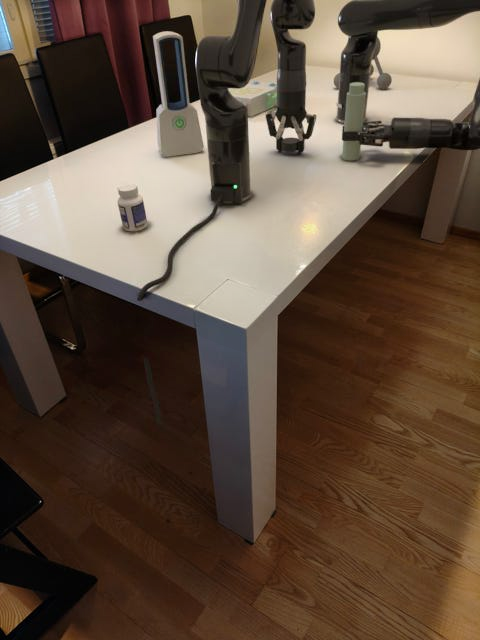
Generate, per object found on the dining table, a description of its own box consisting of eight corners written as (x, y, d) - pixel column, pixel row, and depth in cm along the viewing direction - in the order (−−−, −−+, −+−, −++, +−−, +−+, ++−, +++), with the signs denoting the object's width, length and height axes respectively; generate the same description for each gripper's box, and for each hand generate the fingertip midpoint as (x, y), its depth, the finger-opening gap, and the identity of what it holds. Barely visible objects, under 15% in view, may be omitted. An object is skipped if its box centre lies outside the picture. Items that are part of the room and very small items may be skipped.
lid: (290, 144, 139) (290, 136, 137) (303, 148, 135) (303, 140, 134) (277, 149, 136) (277, 140, 135) (290, 153, 133) (290, 144, 132)
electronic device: (161, 157, 138) (144, 37, 120) (158, 149, 144) (140, 33, 126) (204, 151, 141) (193, 32, 122) (199, 144, 146) (188, 28, 128)
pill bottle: (149, 220, 107) (142, 181, 102) (146, 231, 103) (138, 191, 98) (125, 221, 107) (116, 182, 102) (121, 232, 103) (112, 193, 98)
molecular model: (320, 82, 200) (324, -5, 182) (368, 76, 205) (377, -10, 186) (347, 95, 182) (354, 0, 164) (399, 88, 187) (412, -5, 168)
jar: (353, 161, 129) (360, 87, 118) (338, 158, 132) (343, 84, 121) (362, 156, 132) (370, 83, 121) (348, 153, 135) (354, 81, 123)
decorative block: (245, 78, 184) (291, 83, 175) (246, 96, 188) (291, 102, 178) (203, 94, 168) (250, 100, 159) (204, 113, 172) (251, 121, 162)
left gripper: (260, 89, 126) (261, 155, 136) (314, 91, 121) (311, 159, 131) (269, 82, 131) (270, 146, 141) (322, 84, 126) (318, 150, 137)
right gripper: (409, 110, 129) (343, 110, 132) (414, 126, 118) (343, 126, 121) (404, 139, 133) (341, 138, 136) (409, 157, 122) (340, 156, 125)
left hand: (290, 152), depth 136 cm, fingers closed on lid, 5 cm apart
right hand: (342, 133), depth 128 cm, fingers closed on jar, 4 cm apart
